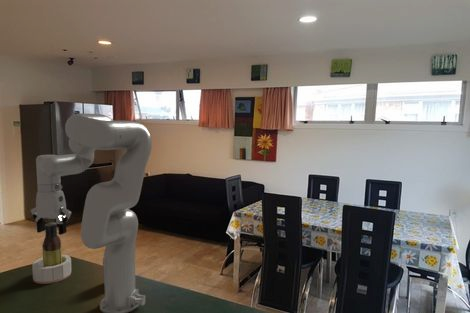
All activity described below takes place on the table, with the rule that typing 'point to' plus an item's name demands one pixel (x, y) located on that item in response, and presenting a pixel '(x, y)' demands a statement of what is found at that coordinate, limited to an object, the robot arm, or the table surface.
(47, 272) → the bottle holder
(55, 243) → the sauce bottle
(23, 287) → the table surface
